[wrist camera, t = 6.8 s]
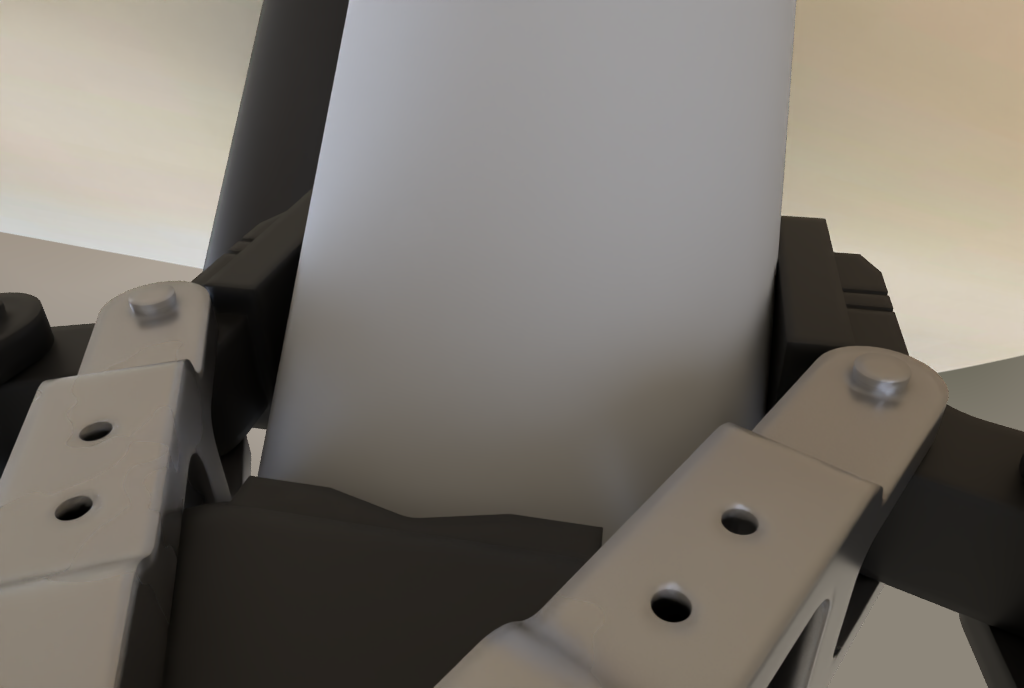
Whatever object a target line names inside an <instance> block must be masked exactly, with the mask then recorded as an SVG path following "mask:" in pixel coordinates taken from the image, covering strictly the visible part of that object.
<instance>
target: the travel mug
mask: <svg viewBox="0 0 1024 688" xmlns="http://www.w3.org/2000/svg"><path fill="white" fill-rule="evenodd" d="M795 14H796V0H349V5H348V10H347V15H346V20H345V25H344V31H343V36H342V41H341V46H340V51H339V57H338V62H337V67H336V72H335V77H334V83H333V88H332V93H331V98H330V103H329V108H328V114H327V119H326V124H325V129H324V134H323V140H322V145H321V150H320V155H319V160H318V166H317V171H316V176H315V181H314V186H313V192H312V197H311V202H310V207H309V212H308V217H307V223H306V228H305V233H304V238H303V243H302V249H301V254H300V259H299V264H298V269H297V275H296V280H295V285H294V290H293V295H292V301H291V306H290V311H289V316H288V321H287V326H286V332H285V337H284V342H283V347H282V352H281V358H280V363H279V368H278V373H277V378H276V384H275V389H274V394H273V399H272V404H271V410H270V415H269V420H268V425H267V430H266V436H265V441H264V446H263V451H262V456H261V462H260V467H259V472H258V477H262V478H269V479H275V480H282V481H289V482H296V483H303V484H310V485H316V486H323V487H330V488H333V489H335V490H338V491H341V492H343V493H346V494H348V495H351V496H353V497H356V498H359V499H361V500H364V501H366V502H369V503H371V504H374V505H377V506H379V507H382V508H384V509H387V510H390V511H392V512H395V513H397V514H400V515H403V516H406V517H412V518H428V517H451V516H473V515H495V514H515V515H521V516H528V517H535V518H542V519H549V520H556V521H562V522H569V523H576V524H583V525H590V526H597V527H603V538H602V546H603V545H604V544H605V543H606V542H607V541H608V540H609V539H610V538H611V537H612V536H613V535H614V534H615V533H616V532H617V531H618V529H619V528H620V527H621V526H622V525H623V524H624V523H625V522H626V521H627V520H628V519H629V518H630V517H631V516H632V515H633V514H634V513H635V512H636V511H637V510H638V509H639V508H640V507H641V506H642V505H643V504H644V503H645V502H646V501H647V500H648V499H649V498H650V497H651V496H652V495H653V494H654V493H655V492H656V490H657V489H658V488H659V487H660V486H661V485H662V484H663V483H664V482H665V481H666V480H667V479H668V478H669V477H670V476H671V475H672V474H673V473H674V472H675V471H676V470H677V469H678V468H679V467H680V466H681V465H682V464H683V463H684V462H685V461H686V460H687V459H688V458H689V457H690V456H691V455H692V454H693V452H694V451H695V450H696V449H697V448H698V447H699V446H700V445H701V444H702V443H703V442H704V441H705V440H706V439H707V438H708V437H709V436H710V435H711V434H712V433H713V432H714V431H715V430H716V429H717V428H718V427H719V426H721V425H722V424H724V423H727V422H732V423H734V424H736V425H739V426H741V427H743V428H746V429H748V430H750V431H752V430H753V429H754V428H755V426H756V425H757V424H758V423H759V422H760V421H761V420H762V419H763V418H764V417H765V416H766V410H767V397H768V383H769V370H770V357H771V344H772V331H773V318H774V305H775V292H776V278H777V264H778V250H779V236H780V222H781V208H782V194H783V181H784V167H785V153H786V139H787V125H788V111H789V97H790V83H791V69H792V55H793V41H794V28H795Z"/></svg>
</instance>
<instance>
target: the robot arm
mask: <svg viewBox="0 0 1024 688" xmlns="http://www.w3.org/2000/svg"><path fill="white" fill-rule="evenodd" d="M312 192H313V188H312V189H311V190H310V191H309V192H307V193H306V194H305V195H304V196H303V197H302V198H301V199H300V200H298V201H297V202H296V203H295V204H294V205H293V206H292V207H290V208H289V209H288V210H287V211H285V212H283V213H281V214H279V215H277V216H274V217H272V218H270V219H268V220H266V221H263V222H261V223H259V224H258V225H257V226H255V227H254V228H253V229H252V230H251V231H250V232H248V233H247V234H246V235H245V236H244V237H243V238H242V241H238V242H237V243H236V244H234V245H233V246H232V247H231V248H230V249H229V250H228V254H225V253H224V254H223V255H222V256H220V257H219V258H218V259H217V260H216V261H215V262H214V263H212V264H211V265H210V266H209V267H208V268H207V269H205V270H204V271H203V272H202V273H201V274H200V275H198V276H197V277H196V278H195V279H194V280H193V281H192V282H186V281H166V282H157V283H152V284H148V285H143V286H140V287H137V288H134V289H131V290H128V291H126V292H124V293H122V294H120V295H118V296H116V297H115V298H113V299H111V300H110V301H109V302H108V303H107V304H105V305H104V307H103V308H102V309H101V311H100V312H99V315H98V318H97V321H96V323H94V324H82V325H70V326H57V327H50V325H49V322H48V319H47V317H46V314H45V312H44V309H43V307H42V304H41V302H40V300H38V298H37V297H34V296H32V295H29V294H24V293H0V688H827V687H828V685H829V683H830V681H831V679H832V677H833V676H834V673H835V672H836V670H837V669H838V667H839V665H840V663H841V661H842V660H843V658H844V656H845V654H846V652H847V651H848V649H849V647H850V645H851V644H852V641H853V640H854V638H855V637H856V635H857V633H858V631H859V630H860V628H861V626H862V624H863V622H864V621H865V619H866V617H867V615H868V614H869V612H870V610H871V608H872V606H873V605H874V603H875V601H876V599H877V598H878V596H879V594H880V592H881V590H882V589H883V587H884V585H885V584H887V585H889V586H892V587H895V588H897V589H900V590H902V591H905V592H907V593H910V594H912V595H915V596H917V597H920V598H922V599H925V600H928V601H930V602H933V603H935V604H938V605H940V606H943V607H945V608H948V609H950V610H953V611H956V612H958V613H959V617H960V621H961V624H962V627H963V630H964V632H965V634H966V637H967V639H968V641H969V644H970V646H971V648H972V651H973V653H974V655H975V658H976V660H977V662H978V665H979V667H980V669H981V672H982V674H983V676H984V679H985V681H986V683H987V686H988V688H1024V432H1022V431H1019V430H1015V429H1012V428H1009V427H1005V426H1002V425H998V424H995V423H992V422H988V421H985V420H982V419H979V418H976V417H973V416H970V415H968V414H965V413H963V412H961V411H958V410H957V409H954V408H952V407H951V406H949V405H947V401H948V398H949V397H948V395H949V391H948V389H947V385H946V384H945V382H944V381H943V379H942V378H941V377H940V376H939V375H938V374H937V372H935V371H934V370H933V369H931V368H930V367H929V366H927V365H926V364H924V363H922V362H921V361H919V360H917V359H915V358H912V357H910V356H909V354H908V351H907V348H906V345H905V342H904V339H903V336H902V333H901V330H900V327H899V324H898V321H897V318H896V315H895V312H893V306H892V303H891V300H890V297H889V296H887V294H888V291H887V288H886V285H885V282H884V279H883V276H882V273H881V272H880V271H879V270H878V269H877V268H875V267H874V266H873V265H872V264H871V263H870V262H868V261H867V260H866V259H865V258H864V257H863V256H861V255H860V254H849V253H835V252H833V248H832V244H831V240H830V236H829V231H828V227H827V223H826V220H825V219H823V218H808V217H792V216H781V222H780V236H779V250H778V264H777V278H776V292H775V305H774V318H773V331H772V344H771V357H770V370H769V383H768V397H767V410H766V416H765V417H764V418H763V419H762V420H761V421H760V422H759V423H758V424H757V425H756V426H755V428H754V429H753V430H752V431H750V430H748V429H746V428H743V427H741V426H739V425H736V424H734V423H732V422H727V423H724V424H722V425H721V426H719V427H718V428H717V429H716V430H715V431H714V432H713V433H712V434H711V435H710V436H709V437H708V438H707V439H706V440H705V441H704V442H703V443H702V444H701V445H700V446H699V447H698V448H697V449H696V450H695V451H694V452H693V454H692V455H691V456H690V457H689V458H688V459H687V460H686V461H685V462H684V463H683V464H682V465H681V466H680V467H679V468H678V469H677V470H676V471H675V472H674V473H673V474H672V475H671V476H670V477H669V478H668V479H667V480H666V481H665V482H664V483H663V484H662V485H661V486H660V487H659V488H658V489H657V490H656V492H655V493H654V494H653V495H652V496H651V497H650V498H649V499H648V500H647V501H646V502H645V503H644V504H643V505H642V506H641V507H640V508H639V509H638V510H637V511H636V512H635V513H634V514H633V515H632V516H631V517H630V518H629V519H628V520H627V521H626V522H625V523H624V524H623V525H622V526H621V527H620V528H619V529H618V531H617V532H616V533H615V534H614V535H613V536H612V537H611V538H610V539H609V540H608V541H607V542H606V543H605V544H604V545H603V546H602V538H603V527H597V526H590V525H583V524H576V523H569V522H562V521H556V520H549V519H542V518H535V517H528V516H521V515H515V514H495V515H473V516H451V517H428V518H412V517H406V516H403V515H400V514H397V513H395V512H392V511H390V510H387V509H384V508H382V507H379V506H377V505H374V504H371V503H369V502H366V501H364V500H361V499H359V498H356V497H353V496H351V495H348V494H346V493H343V492H341V491H338V490H335V489H333V488H330V487H323V486H316V485H310V484H303V483H296V482H289V481H282V480H275V479H269V478H262V477H255V476H251V452H250V448H249V444H248V440H247V436H246V435H247V433H248V432H249V431H250V429H251V428H260V429H267V425H268V420H269V415H270V410H271V404H272V399H273V394H274V389H275V384H276V378H277V373H278V368H279V363H280V358H281V352H282V347H283V342H284V337H285V332H286V326H287V321H288V316H289V311H290V306H291V301H292V295H293V290H294V285H295V280H296V275H297V269H298V264H299V259H300V254H301V249H302V243H303V238H304V233H305V228H306V223H307V217H308V212H309V207H310V202H311V197H312Z"/></svg>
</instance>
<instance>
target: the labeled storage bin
mask: <svg viewBox="0 0 1024 688" xmlns="http://www.w3.org/2000/svg"><path fill="white" fill-rule="evenodd" d="M348 5H349V0H264V1H263V5H262V10H261V14H260V19H259V23H258V28H257V32H256V37H255V41H254V45H253V50H252V54H251V59H250V63H249V68H248V72H247V77H246V81H245V86H244V90H243V94H242V99H241V103H240V108H239V112H238V117H237V121H236V126H235V130H234V135H233V139H232V143H231V148H230V152H229V157H228V161H227V166H226V170H225V175H224V179H223V183H222V188H221V192H220V197H219V201H218V206H217V210H216V215H215V219H214V224H213V228H212V232H211V237H210V241H209V246H208V250H207V255H206V259H205V264H204V268H203V271H204V270H205V269H207V268H208V267H209V266H210V265H211V264H212V263H214V262H215V261H216V260H217V259H218V258H219V257H220V256H222V255H223V254H224V253H225V254H228V250H229V249H230V248H231V247H232V246H233V245H234V244H236V243H237V242H238V241H242V238H243V237H244V236H245V235H246V234H247V233H248V232H250V231H251V230H252V229H253V228H254V227H255V226H257V225H258V224H259V223H261V222H263V221H266V220H268V219H270V218H272V217H274V216H277V215H279V214H281V213H283V212H285V211H287V210H288V209H289V208H290V207H292V206H293V205H294V204H295V203H296V202H297V201H298V200H300V199H301V198H302V197H303V196H304V195H305V194H306V193H307V192H309V191H310V190H311V189H312V188H313V186H314V181H315V176H316V171H317V166H318V160H319V155H320V150H321V145H322V140H323V134H324V129H325V124H326V119H327V114H328V108H329V103H330V98H331V93H332V88H333V83H334V77H335V72H336V67H337V62H338V57H339V51H340V46H341V41H342V36H343V31H344V25H345V20H346V15H347V10H348Z"/></svg>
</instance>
